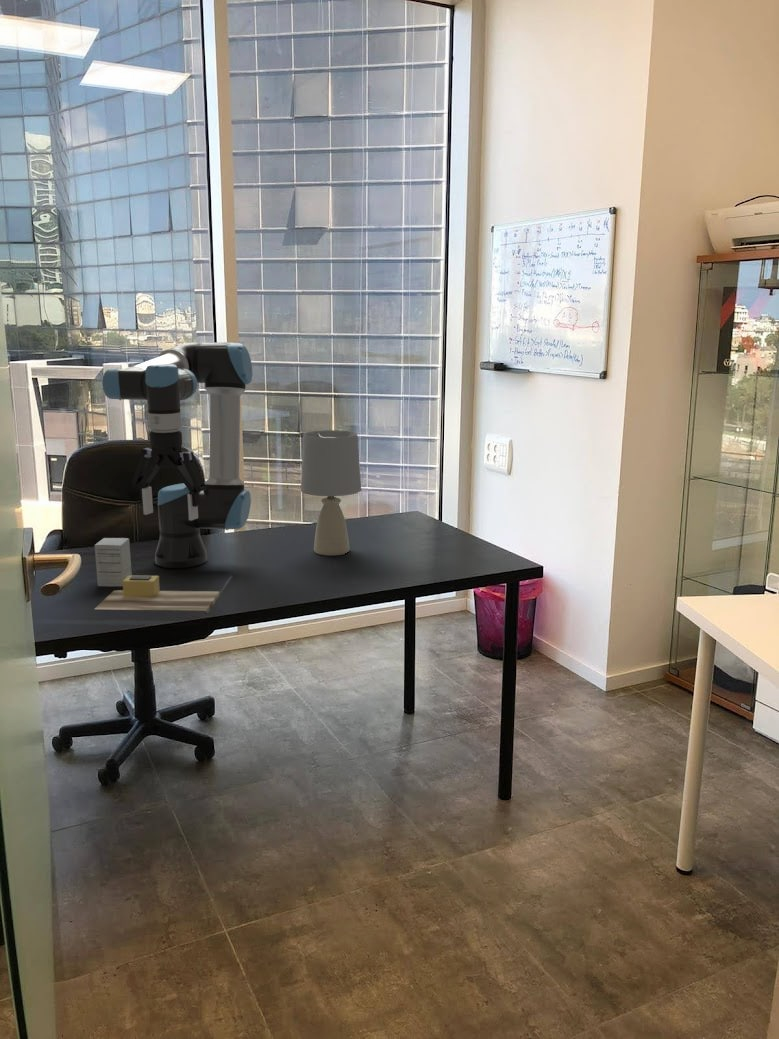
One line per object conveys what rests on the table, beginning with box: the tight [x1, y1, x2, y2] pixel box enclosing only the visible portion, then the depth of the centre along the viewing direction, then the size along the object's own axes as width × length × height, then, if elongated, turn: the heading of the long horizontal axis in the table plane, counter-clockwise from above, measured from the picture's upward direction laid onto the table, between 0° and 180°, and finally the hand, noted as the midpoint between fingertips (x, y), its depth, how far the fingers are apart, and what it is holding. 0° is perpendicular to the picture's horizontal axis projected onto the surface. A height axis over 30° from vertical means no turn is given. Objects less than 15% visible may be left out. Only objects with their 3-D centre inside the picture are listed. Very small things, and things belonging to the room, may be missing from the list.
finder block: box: [122, 574, 161, 596], centre depth 226 cm, size 5×8×4 cm, turn 89°
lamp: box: [300, 429, 362, 557], centre depth 266 cm, size 19×19×37 cm
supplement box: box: [94, 537, 133, 587], centre depth 234 cm, size 7×7×13 cm
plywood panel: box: [94, 589, 221, 615], centre depth 221 cm, size 15×28×1 cm, turn 89°
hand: (170, 516), depth 211 cm, fingers open, 13 cm apart
